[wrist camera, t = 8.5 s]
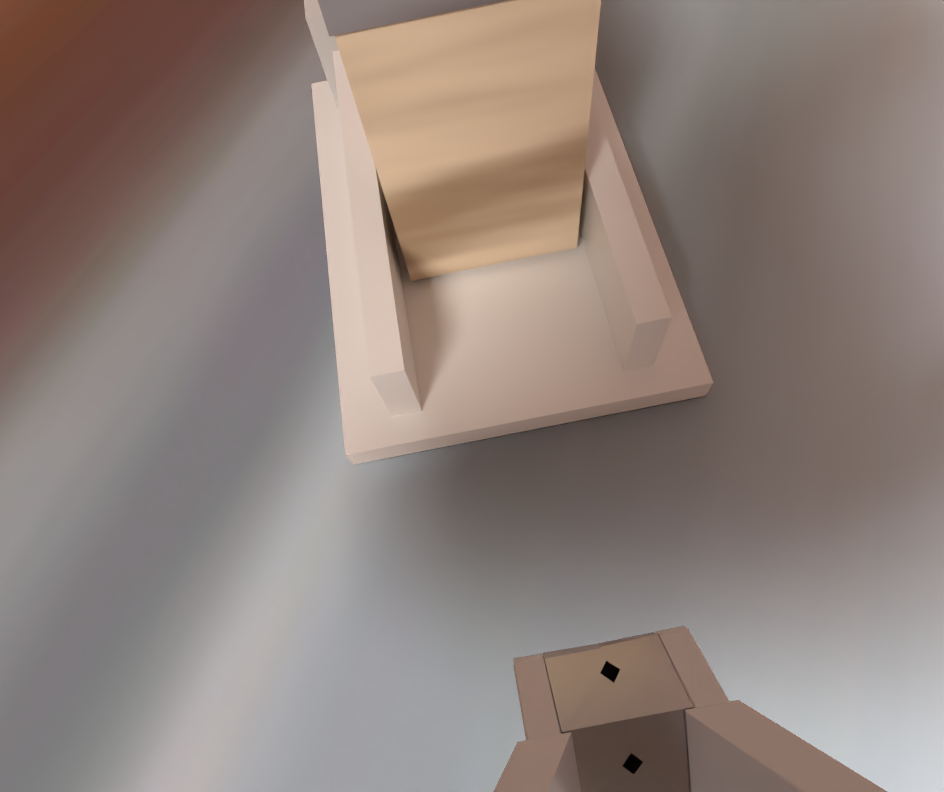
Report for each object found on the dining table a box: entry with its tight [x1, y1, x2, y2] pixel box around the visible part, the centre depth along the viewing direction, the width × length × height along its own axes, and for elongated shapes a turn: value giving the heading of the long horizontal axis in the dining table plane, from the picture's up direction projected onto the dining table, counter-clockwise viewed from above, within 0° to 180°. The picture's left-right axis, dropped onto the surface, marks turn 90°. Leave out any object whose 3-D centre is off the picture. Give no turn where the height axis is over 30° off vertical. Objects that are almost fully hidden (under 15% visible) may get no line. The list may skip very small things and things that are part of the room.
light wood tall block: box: [318, 0, 601, 281], centre depth 18 cm, size 5×6×10 cm
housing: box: [304, 0, 714, 464], centre depth 22 cm, size 18×12×5 cm
